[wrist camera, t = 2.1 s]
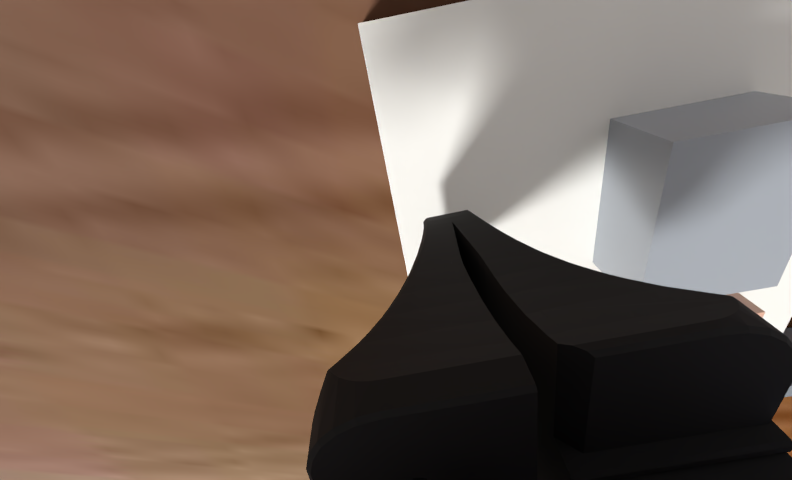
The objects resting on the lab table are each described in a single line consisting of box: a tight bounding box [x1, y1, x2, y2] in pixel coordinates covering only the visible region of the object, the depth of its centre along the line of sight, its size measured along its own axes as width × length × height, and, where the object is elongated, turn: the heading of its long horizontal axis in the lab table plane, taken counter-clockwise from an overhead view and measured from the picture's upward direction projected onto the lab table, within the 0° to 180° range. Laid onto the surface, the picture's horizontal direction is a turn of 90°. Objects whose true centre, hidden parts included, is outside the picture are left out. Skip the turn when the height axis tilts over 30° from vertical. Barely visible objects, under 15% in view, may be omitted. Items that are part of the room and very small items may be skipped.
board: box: [358, 0, 792, 333], centre depth 14 cm, size 15×18×2 cm
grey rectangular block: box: [593, 91, 792, 295], centre depth 10 cm, size 4×5×2 cm
